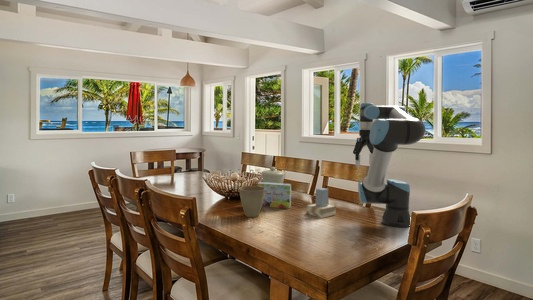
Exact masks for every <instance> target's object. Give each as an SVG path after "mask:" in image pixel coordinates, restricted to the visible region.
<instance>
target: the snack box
mask: <svg viewBox="0 0 533 300" xmlns="http://www.w3.org/2000/svg"><path fill="white" fill-rule="evenodd" d="M256 186H261V187H264V188H265V194H264V200H263V204H262V207H263V208H264V207H265V208H267V207H268V208H275V209H276V208H278V209H287V210H288V209H291V207H292V183H284V182H283V183H268V182H262V181H258V182H257V185H256Z"/></svg>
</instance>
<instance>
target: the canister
mask: <svg viewBox="0 0 533 300" xmlns="http://www.w3.org/2000/svg"><path fill="white" fill-rule="evenodd" d="M260 174H261V175H260V176H261V179H262V178H263V182H268V183H283V184H284V180H285V175H286V173H285V172H284V171H282V170H278V169H277V170H276V167H275V166H271V167H270V168H269V169H266V170H263V171H261V172H260Z"/></svg>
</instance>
